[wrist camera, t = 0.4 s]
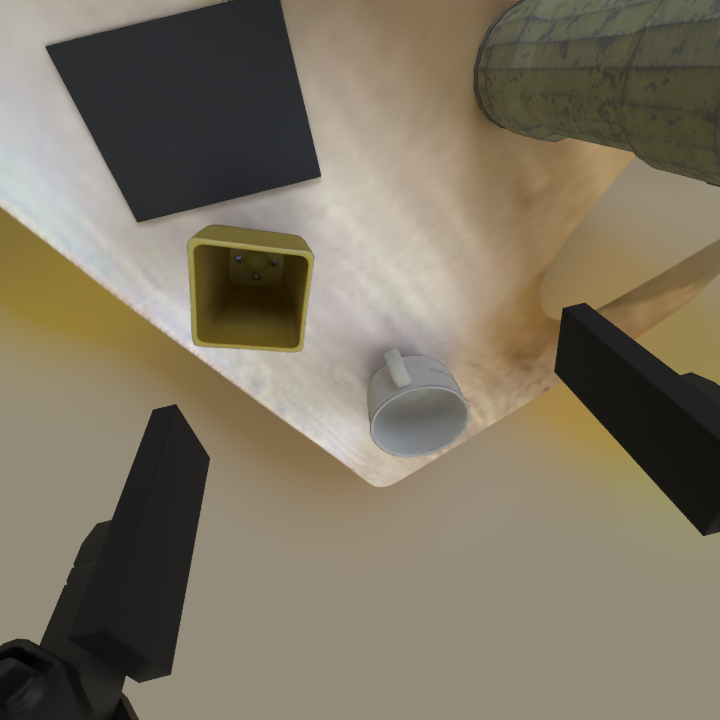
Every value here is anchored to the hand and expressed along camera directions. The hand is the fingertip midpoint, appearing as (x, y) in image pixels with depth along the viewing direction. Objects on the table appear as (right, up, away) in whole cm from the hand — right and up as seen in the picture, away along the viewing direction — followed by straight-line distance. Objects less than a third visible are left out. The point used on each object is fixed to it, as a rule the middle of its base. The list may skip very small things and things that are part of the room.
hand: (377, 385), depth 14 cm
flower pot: (-10, +11, +24) cm, 28 cm away
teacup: (+4, 0, +35) cm, 35 cm away
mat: (-13, +19, +17) cm, 29 cm away
